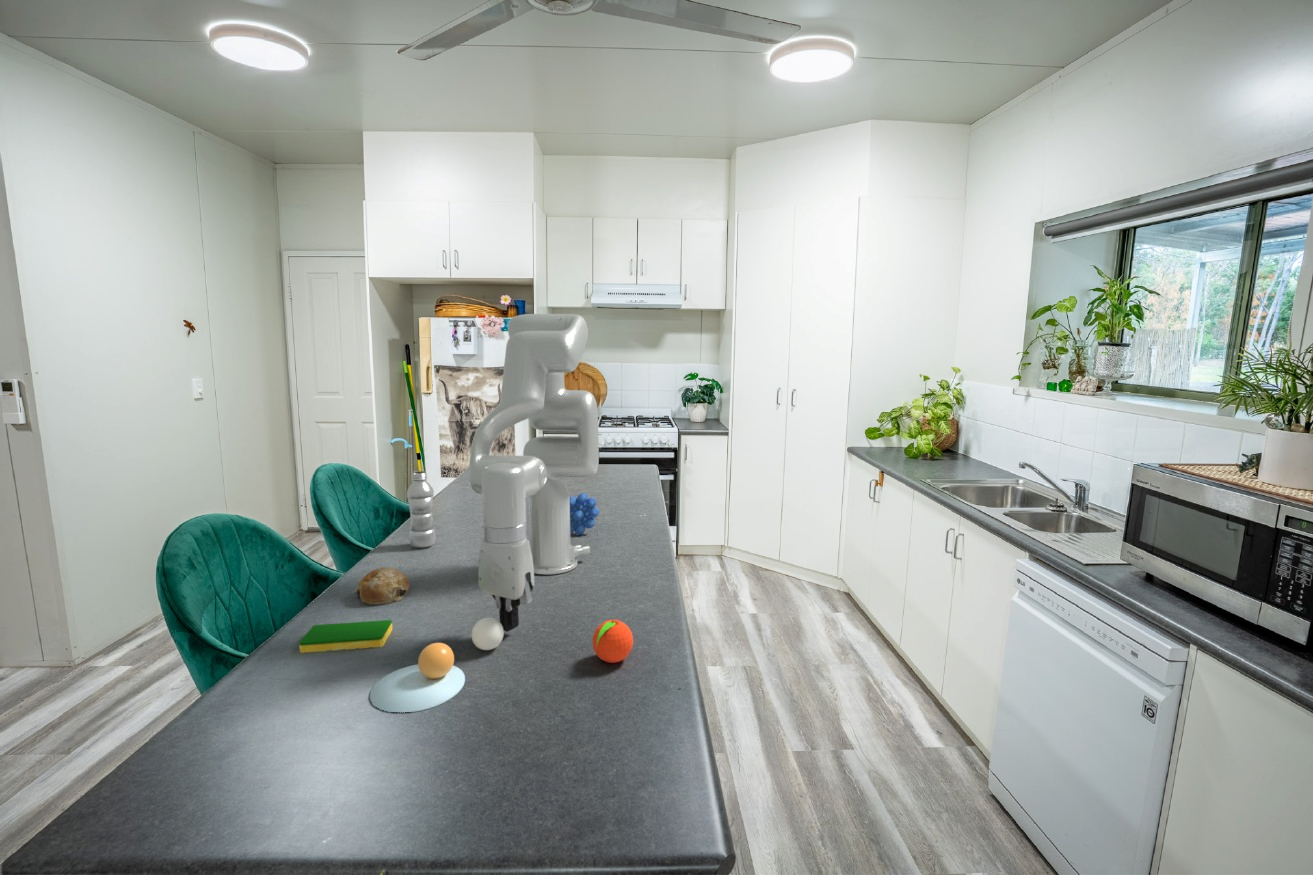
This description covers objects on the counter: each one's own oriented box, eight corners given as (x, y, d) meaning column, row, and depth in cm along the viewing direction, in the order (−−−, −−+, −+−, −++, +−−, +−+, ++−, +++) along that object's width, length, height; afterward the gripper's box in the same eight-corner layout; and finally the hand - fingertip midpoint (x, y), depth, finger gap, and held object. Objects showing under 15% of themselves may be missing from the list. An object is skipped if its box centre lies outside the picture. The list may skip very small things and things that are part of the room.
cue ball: (471, 617, 107) (464, 650, 106) (503, 623, 107) (496, 655, 106) (479, 612, 112) (472, 643, 112) (509, 618, 112) (502, 648, 112)
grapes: (598, 529, 178) (597, 488, 177) (600, 536, 172) (599, 494, 170) (557, 531, 177) (556, 490, 175) (558, 538, 170) (556, 496, 168)
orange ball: (436, 630, 101) (410, 655, 97) (462, 649, 100) (437, 675, 96) (435, 646, 105) (410, 671, 101) (460, 665, 103) (436, 691, 100)
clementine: (613, 677, 100) (613, 636, 99) (580, 666, 104) (579, 626, 103) (641, 656, 107) (640, 617, 106) (608, 646, 110) (608, 608, 109)
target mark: (455, 656, 107) (455, 655, 107) (473, 696, 95) (473, 695, 95) (366, 677, 100) (366, 675, 100) (373, 723, 88) (373, 722, 88)
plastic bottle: (413, 542, 167) (409, 470, 164) (439, 542, 167) (435, 469, 164) (406, 550, 160) (401, 475, 157) (433, 550, 161) (428, 474, 158)
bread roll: (383, 624, 127) (395, 592, 126) (341, 600, 128) (353, 568, 127) (411, 604, 137) (423, 574, 135) (372, 582, 138) (383, 552, 136)
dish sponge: (314, 636, 115) (313, 624, 115) (393, 631, 117) (392, 619, 117) (299, 655, 108) (298, 642, 108) (382, 649, 111) (381, 636, 110)
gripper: (460, 531, 112) (465, 626, 115) (521, 545, 104) (525, 646, 107) (491, 520, 118) (495, 611, 121) (551, 533, 111) (554, 629, 114)
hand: (509, 627), depth 114 cm, fingers closed
